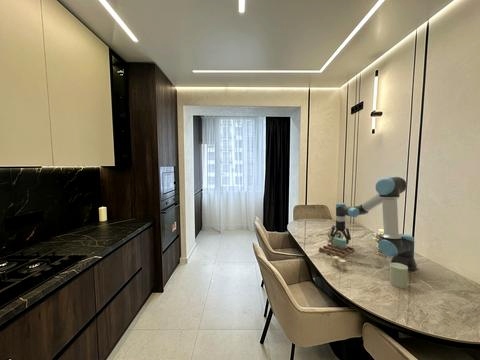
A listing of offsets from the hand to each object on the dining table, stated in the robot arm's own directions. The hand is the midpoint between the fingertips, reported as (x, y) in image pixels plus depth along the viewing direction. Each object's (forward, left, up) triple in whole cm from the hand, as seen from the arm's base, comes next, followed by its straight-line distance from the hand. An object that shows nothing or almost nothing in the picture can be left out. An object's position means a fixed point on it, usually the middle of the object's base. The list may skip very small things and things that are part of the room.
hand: (340, 245), depth 196 cm
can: (-51, +30, -3) cm, 60 cm away
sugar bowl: (+14, -18, -3) cm, 23 cm away
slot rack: (0, +7, -3) cm, 7 cm away
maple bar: (-16, +34, -3) cm, 37 cm away
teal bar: (0, 0, 0) cm, 0 cm away
